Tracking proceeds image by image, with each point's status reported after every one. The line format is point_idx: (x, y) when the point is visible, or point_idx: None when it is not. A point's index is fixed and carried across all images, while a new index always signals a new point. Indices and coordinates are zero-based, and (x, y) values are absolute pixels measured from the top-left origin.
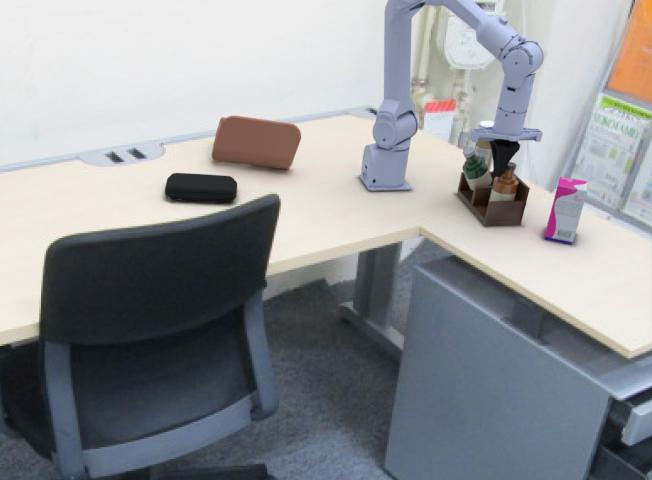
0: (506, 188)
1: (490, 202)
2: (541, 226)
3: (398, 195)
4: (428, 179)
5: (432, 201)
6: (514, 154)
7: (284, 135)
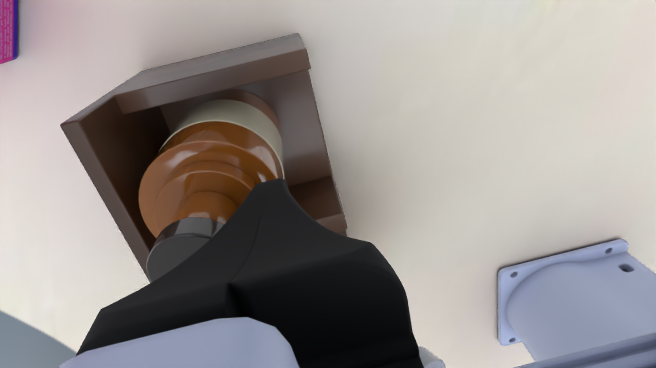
0: (216, 132)
1: (305, 53)
2: (45, 78)
3: (543, 230)
4: (417, 344)
5: (448, 212)
6: (163, 275)
7: None
